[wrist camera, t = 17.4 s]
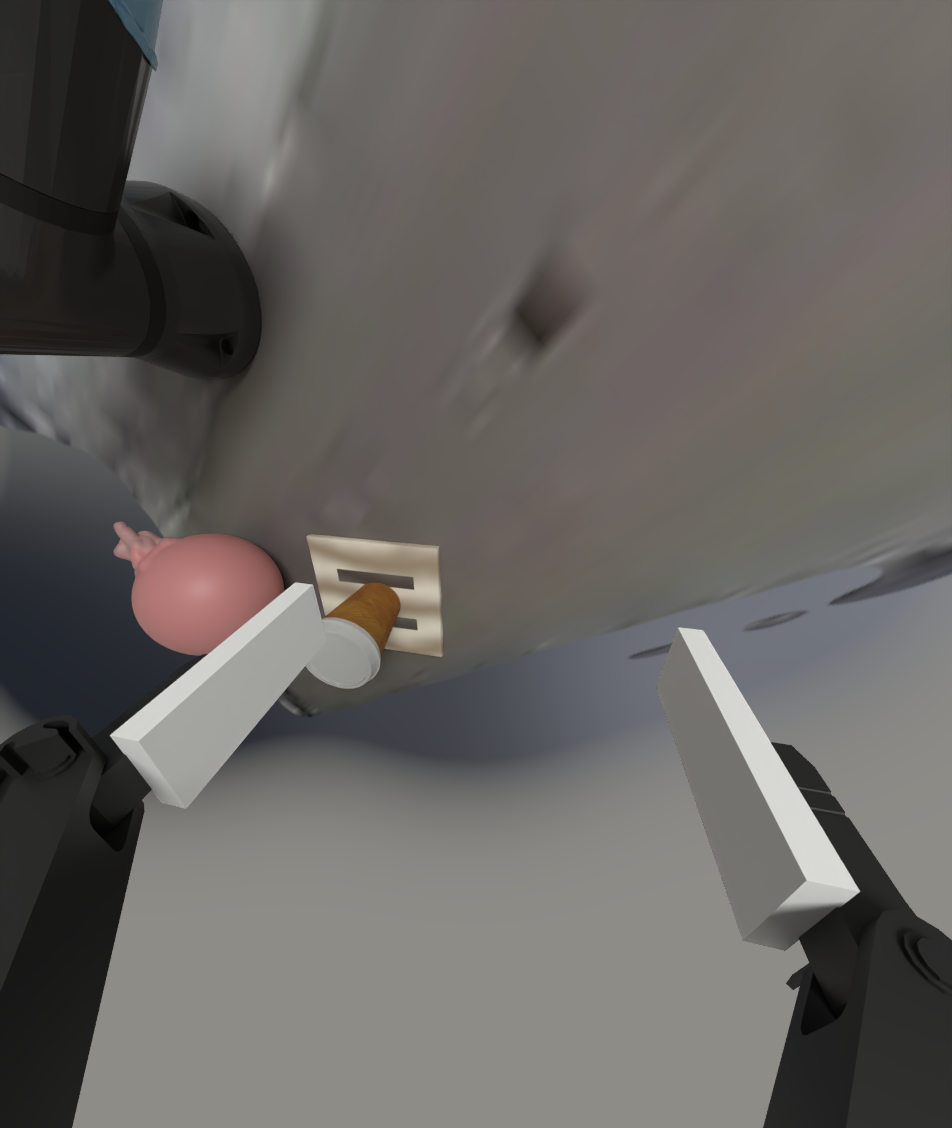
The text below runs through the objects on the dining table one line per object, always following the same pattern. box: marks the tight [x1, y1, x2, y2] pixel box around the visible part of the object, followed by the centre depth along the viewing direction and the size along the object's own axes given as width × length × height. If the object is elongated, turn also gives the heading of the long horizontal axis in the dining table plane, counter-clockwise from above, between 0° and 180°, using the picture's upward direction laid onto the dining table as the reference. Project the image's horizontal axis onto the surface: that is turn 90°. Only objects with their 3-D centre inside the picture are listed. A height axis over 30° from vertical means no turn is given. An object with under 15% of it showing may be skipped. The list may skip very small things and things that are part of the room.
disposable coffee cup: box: [305, 582, 401, 689], centre depth 44 cm, size 10×10×12 cm
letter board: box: [307, 534, 443, 657], centre depth 50 cm, size 18×18×1 cm
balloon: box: [114, 522, 284, 656], centre depth 44 cm, size 15×20×15 cm
